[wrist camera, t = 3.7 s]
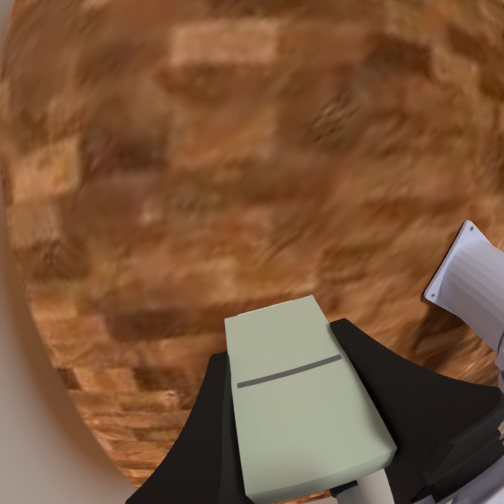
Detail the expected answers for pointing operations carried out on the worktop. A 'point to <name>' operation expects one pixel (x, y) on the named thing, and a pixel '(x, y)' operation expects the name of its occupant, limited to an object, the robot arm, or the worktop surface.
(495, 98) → the worktop surface
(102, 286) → the worktop surface
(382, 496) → the travel mug
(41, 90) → the worktop surface
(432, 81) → the worktop surface
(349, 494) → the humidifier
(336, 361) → the domino
